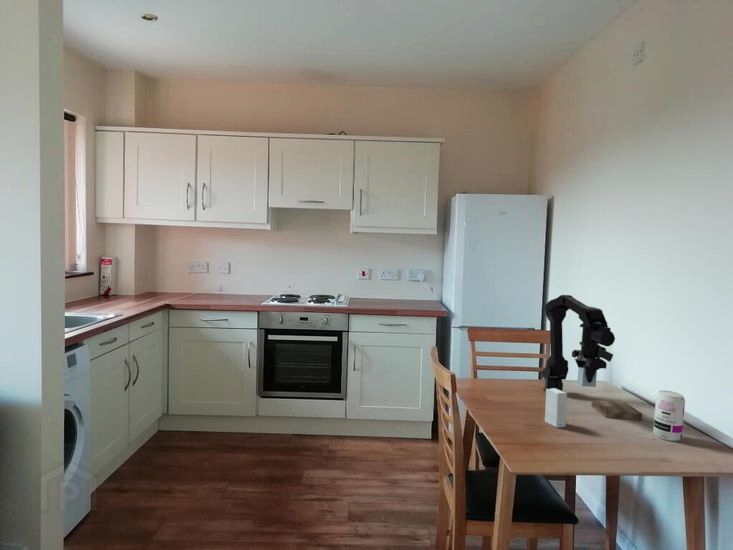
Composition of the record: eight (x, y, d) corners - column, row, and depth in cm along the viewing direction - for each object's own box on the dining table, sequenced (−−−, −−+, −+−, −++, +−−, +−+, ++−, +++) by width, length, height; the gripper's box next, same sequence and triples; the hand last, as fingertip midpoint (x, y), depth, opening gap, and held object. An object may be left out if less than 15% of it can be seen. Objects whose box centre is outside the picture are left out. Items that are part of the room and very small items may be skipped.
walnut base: (605, 417, 176) (606, 411, 176) (591, 405, 189) (592, 399, 189) (641, 420, 175) (642, 413, 175) (625, 408, 188) (625, 402, 188)
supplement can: (677, 434, 162) (681, 392, 161) (684, 443, 154) (688, 399, 153) (650, 430, 165) (654, 388, 164) (656, 439, 157) (660, 395, 156)
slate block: (582, 386, 180) (583, 370, 179) (577, 382, 185) (578, 367, 184) (595, 387, 179) (596, 371, 179) (590, 383, 184) (591, 368, 184)
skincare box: (566, 427, 164) (568, 392, 163) (555, 428, 162) (558, 393, 162) (553, 420, 170) (555, 387, 169) (543, 421, 168) (545, 388, 167)
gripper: (622, 347, 171) (619, 389, 172) (601, 337, 190) (597, 375, 191) (591, 345, 172) (588, 387, 173) (572, 335, 191) (569, 373, 192)
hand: (586, 380), depth 182 cm, fingers closed on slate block, 5 cm apart
